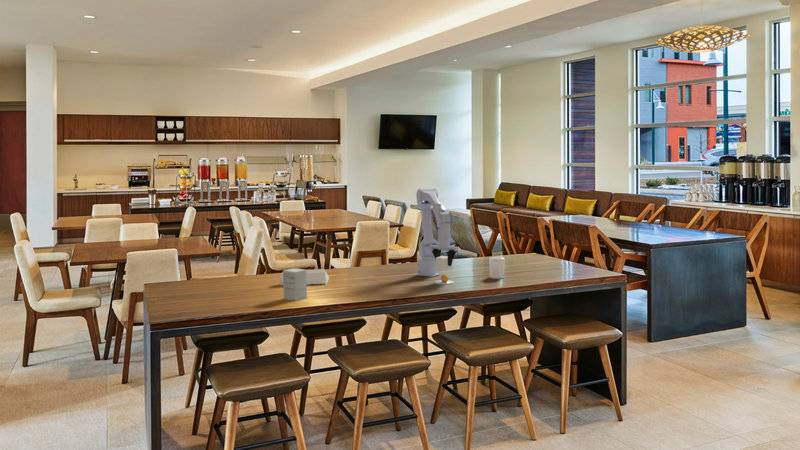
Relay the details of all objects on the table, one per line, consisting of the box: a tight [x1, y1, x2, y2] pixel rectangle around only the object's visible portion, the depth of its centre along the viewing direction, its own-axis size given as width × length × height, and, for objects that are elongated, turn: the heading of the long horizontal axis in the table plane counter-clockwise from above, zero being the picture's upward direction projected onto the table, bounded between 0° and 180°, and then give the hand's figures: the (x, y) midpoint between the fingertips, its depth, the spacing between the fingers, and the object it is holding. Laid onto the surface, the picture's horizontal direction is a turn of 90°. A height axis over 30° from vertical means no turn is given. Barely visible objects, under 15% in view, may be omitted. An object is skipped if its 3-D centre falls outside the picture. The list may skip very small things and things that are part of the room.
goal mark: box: [433, 279, 455, 285], centre depth 348 cm, size 10×10×1 cm
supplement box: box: [282, 267, 308, 302], centre depth 312 cm, size 7×7×13 cm
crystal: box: [278, 268, 330, 286], centre depth 347 cm, size 7×7×24 cm
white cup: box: [488, 256, 506, 280], centre depth 359 cm, size 8×8×10 cm
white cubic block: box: [436, 255, 453, 271], centre depth 347 cm, size 6×6×6 cm
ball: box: [440, 274, 450, 282], centre depth 348 cm, size 4×4×4 cm
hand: (444, 265), depth 347 cm, fingers closed on white cubic block, 6 cm apart
